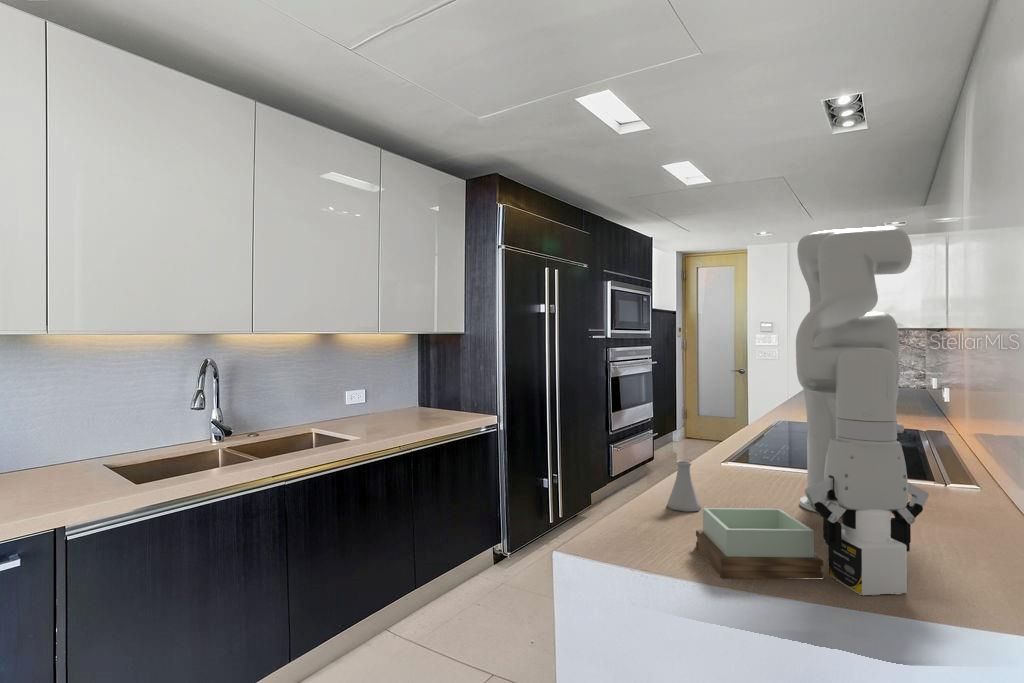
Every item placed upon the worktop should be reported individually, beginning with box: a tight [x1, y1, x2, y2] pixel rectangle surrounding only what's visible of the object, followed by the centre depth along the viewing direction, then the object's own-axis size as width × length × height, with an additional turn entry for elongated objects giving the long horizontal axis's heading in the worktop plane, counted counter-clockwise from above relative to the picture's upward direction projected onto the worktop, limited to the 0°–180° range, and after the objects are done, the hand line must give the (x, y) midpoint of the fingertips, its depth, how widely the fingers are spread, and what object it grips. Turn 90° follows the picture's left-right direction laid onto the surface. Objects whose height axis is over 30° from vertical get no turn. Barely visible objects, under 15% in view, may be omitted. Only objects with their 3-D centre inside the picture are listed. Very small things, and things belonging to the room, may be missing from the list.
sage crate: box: [702, 507, 815, 558], centre depth 89 cm, size 13×11×4 cm
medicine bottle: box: [827, 509, 908, 597], centre depth 81 cm, size 7×7×12 cm
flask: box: [666, 460, 702, 512], centre depth 119 cm, size 7×7×10 cm
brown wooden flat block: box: [695, 529, 824, 580], centre depth 89 cm, size 15×13×3 cm
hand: (866, 547), depth 80 cm, fingers open, 9 cm apart
